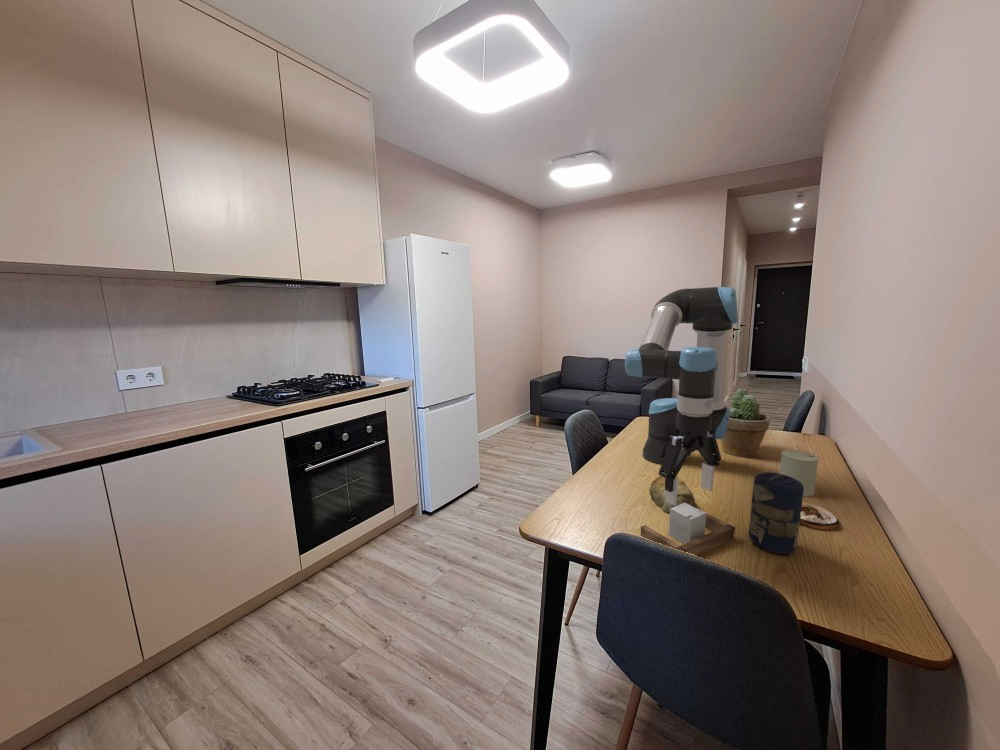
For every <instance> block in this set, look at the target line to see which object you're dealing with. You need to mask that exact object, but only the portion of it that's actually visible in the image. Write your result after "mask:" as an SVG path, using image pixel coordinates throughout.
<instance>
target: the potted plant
mask: <svg viewBox="0 0 1000 750" xmlns="http://www.w3.org/2000/svg"><path fill="white" fill-rule="evenodd" d="M748 392H749V391H748V390H747V389H745V388H738V389H736V393H735V395H732V396H731V400H730V403H731V408H729V409H730V417H729V421H728V426H727V430H726V433H725V436H724V437H723V438H722V439H719V441H720V445H721V448H722V451H723V452H724V453H726V454H728V455H731V456H735V457H740V458H752V457H755V456H756V454H757V452H758V450H759V447H760V445H761V443H762V442H763V440H764V438H765V435H766V432H767V431H768V429H769V426H770V421H771V419H772V418H771V416H769V415H767V414H764V413H762V412H760V406H761V401H760V399H758V398H756V397H755V396H753V395H751V394H748Z"/></svg>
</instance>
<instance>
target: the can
mask: <svg viewBox="0 0 1000 750" xmlns="http://www.w3.org/2000/svg"><path fill="white" fill-rule="evenodd" d="M818 463H819V457H818V456H817V455H815V454H814V453H810V452H805V451H802V450H794V449H785V450H782V451H781V457H780V466H779V467H780V468H779V474H783V475H787V476H790V477H792V478H794V479H796V480H798V481H799V482H801V483H802V485H803V487H804V491H803V498H804V497H807V498H808V497H813V496H814V495H815V494H816V493H815V488H816V479H817V471H818Z"/></svg>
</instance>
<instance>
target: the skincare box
mask: <svg viewBox="0 0 1000 750" xmlns="http://www.w3.org/2000/svg"><path fill="white" fill-rule="evenodd" d="M706 513H707V512H705V511H703V510H701V509H700V508H696V507H694V506H691V505H689V504H686V503H683V504H680V505H678V506H676V507H673V508H670V512H669V519H668V533H667V534H668V536H670V537H672V538H673V539H675V540H676V541H679V542H681V543H682V544H685V543H688V542H690V541H692V540H694V539H697V538H699V537H701V536H703V535H706V527H705V523H706Z"/></svg>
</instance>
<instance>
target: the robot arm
mask: <svg viewBox="0 0 1000 750" xmlns="http://www.w3.org/2000/svg"><path fill="white" fill-rule="evenodd" d="M738 317H739V316H738V302H737V292H736V289H735V288H733V287H731V286H728V287H727V286H712V287H695V288H680V289H678V290H675V291H672V292H670V293H668V294H666V295H665V296H663V297H662V298H661V299H659V300H658V301H657V303H656V304H655V305H654V307H653V309H652V310H651V314H650V318H651V321H650V322H649V325H648V327H647V329H646V331H645V334H644V336H643V339H642V341H641V344H640V346H639V347H638V348H635V349H628V350H627V351H626V354H625V357H624V358H625V359H624V370H625V373H626V374H627V376H631V377H636V378H637V377H638V378H649V379H666V380H678V390H677V391H678V393H677V398H676V397H675V398H674V397H670V398H668V397H666V398H657V399H654V400H652V401H651V402H650V404H649V409H648V431H647V432H648V433H647V438H646V441H645V444H644V446H643V448H642V454H641V455H642V457H643V458H644V459H645V460H646V461H649V462H651V463H655V464H660V468H659V470H658V473H657V474H658V476H659V477H660V476H662V477H664V478H665V501H666V502H668V503H670V504H672V505H674V506H675V505H677V490H678V479H677V478H676V476H677V477H678V474H679V473H680V471H681V469H682V467H683V465H685V464H684V463H685V462H686V459H687V458H688V457H689V456H691V455H692V453H694V452H696V451H698V453H699V455H700V456H701V458H702V459H703V461H704V462H702V463H701V474H700V475H701V476H700V487H701V488H702V489H705V490H707V491H709V492H713V487H714V475H715V466H716V467H719V466H720V462H721V461H722V455H721V452H720V449H719V444H718V441H717V440H720V439H722V438H723V437H724V436H725V433H726V430H727V426H728V421H729V417H730V409H731V408H729V407H727V403H726V401H724V399H722V397H723V396H722V395H723V384H724V369H725V357H726V355H725V354H726V344H727V334H728V333H729V332H730V331H732V330H733V325H735V324H737V323H738V322H739V318H738ZM679 324H692V330H693V331H694V332H695V333H696V346H690V347H688V346H687V347H684V348H683V349H682V348H681V350H669V349H670V345H671V342H672V339H673V336H674V333H675V330H676V327H678V326H679Z"/></svg>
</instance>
